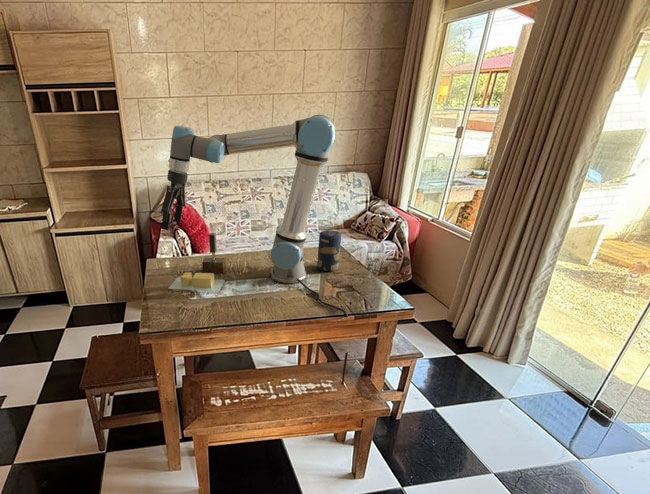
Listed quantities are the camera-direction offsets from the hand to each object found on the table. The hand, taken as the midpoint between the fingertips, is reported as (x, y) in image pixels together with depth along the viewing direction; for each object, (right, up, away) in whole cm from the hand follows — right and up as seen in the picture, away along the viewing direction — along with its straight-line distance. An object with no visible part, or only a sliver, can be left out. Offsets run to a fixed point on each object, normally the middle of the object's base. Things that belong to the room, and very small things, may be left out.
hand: (171, 225), depth 165 cm
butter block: (+13, -23, +9) cm, 28 cm away
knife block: (+17, -16, +23) cm, 33 cm away
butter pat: (+5, -22, +10) cm, 25 cm away
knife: (+17, -15, +23) cm, 32 cm away
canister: (+69, -15, +22) cm, 74 cm away
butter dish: (+10, -24, +10) cm, 27 cm away
